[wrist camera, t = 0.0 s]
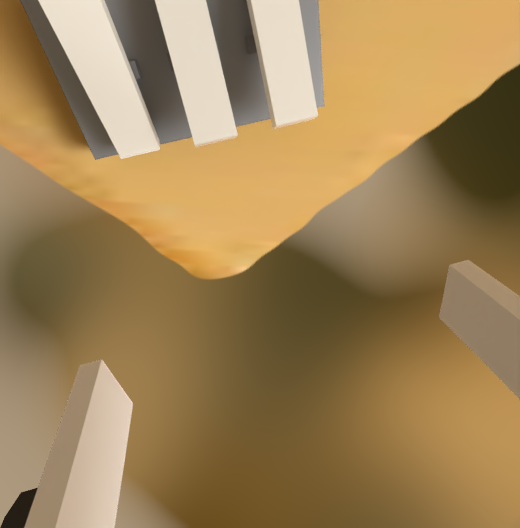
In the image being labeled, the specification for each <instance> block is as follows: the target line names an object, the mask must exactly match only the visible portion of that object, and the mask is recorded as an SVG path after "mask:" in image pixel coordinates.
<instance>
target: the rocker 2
mask: <svg viewBox="0 0 520 528" xmlns="http://www.w3.org/2000/svg"><path fill="white" fill-rule="evenodd" d="M155 3H156V6H157V10H158V14H159V17H160V21H161V24H162V28H163V32H164V35H165V39H166V43H167V46H168V50H169V54H170V57H171V61H172V65H173V68H174V72H175V75H176V79H177V83H178V86H179V90H180V94H181V97H182V101H183V105H184V108H185V112H186V116H187V119H188V123H189V127H190V130H191V134H192V137H193V141H194V145H195V147H199V146H203V145H207V144H212V143H216V142H220V141H224V140H229V139H233V138H237V136H238V134H237V130H236V126H235V121H234V117H233V113H232V109H231V104H230V100H229V96H228V92H227V87H226V83H225V79H224V75H223V71H222V66H221V62H220V58H219V54H218V49H217V45H216V41H215V37H214V32H213V28H212V24H211V20H210V15H209V11H208V7H207V3H206V0H155Z"/></svg>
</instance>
